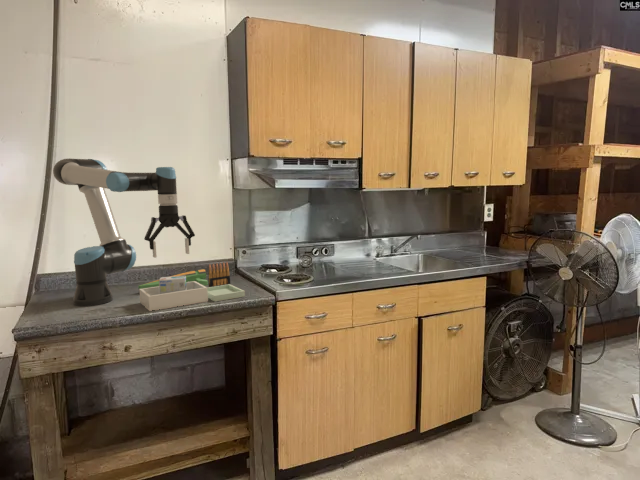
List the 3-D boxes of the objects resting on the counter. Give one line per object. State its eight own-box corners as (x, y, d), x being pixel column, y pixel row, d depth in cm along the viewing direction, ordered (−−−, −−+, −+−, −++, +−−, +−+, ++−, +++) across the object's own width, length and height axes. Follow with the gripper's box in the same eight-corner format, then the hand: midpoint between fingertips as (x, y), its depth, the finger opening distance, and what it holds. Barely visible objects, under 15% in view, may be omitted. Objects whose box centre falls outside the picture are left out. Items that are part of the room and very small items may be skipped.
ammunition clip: (229, 285, 220) (228, 261, 219) (230, 285, 219) (229, 261, 217) (208, 288, 214) (207, 263, 213) (209, 289, 213) (208, 264, 211)
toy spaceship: (141, 296, 202) (140, 280, 201) (135, 291, 211) (134, 276, 210) (209, 285, 221) (208, 271, 220) (200, 281, 230) (200, 267, 229)
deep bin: (149, 311, 177) (148, 296, 177) (140, 302, 191) (139, 289, 190) (208, 301, 191) (207, 287, 190) (195, 293, 204) (194, 281, 203)
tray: (214, 301, 190) (214, 295, 189) (200, 293, 204) (200, 288, 203) (245, 296, 198) (244, 290, 197) (229, 289, 212) (229, 284, 211)
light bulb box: (187, 299, 195) (186, 274, 194) (186, 303, 189) (185, 278, 187) (161, 301, 193) (160, 276, 191) (160, 305, 186) (158, 279, 185)
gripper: (138, 206, 175) (142, 259, 178) (200, 203, 189) (203, 253, 192) (134, 205, 181) (138, 257, 184) (194, 203, 195) (197, 251, 198)
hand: (171, 255), depth 188 cm, fingers open, 13 cm apart
